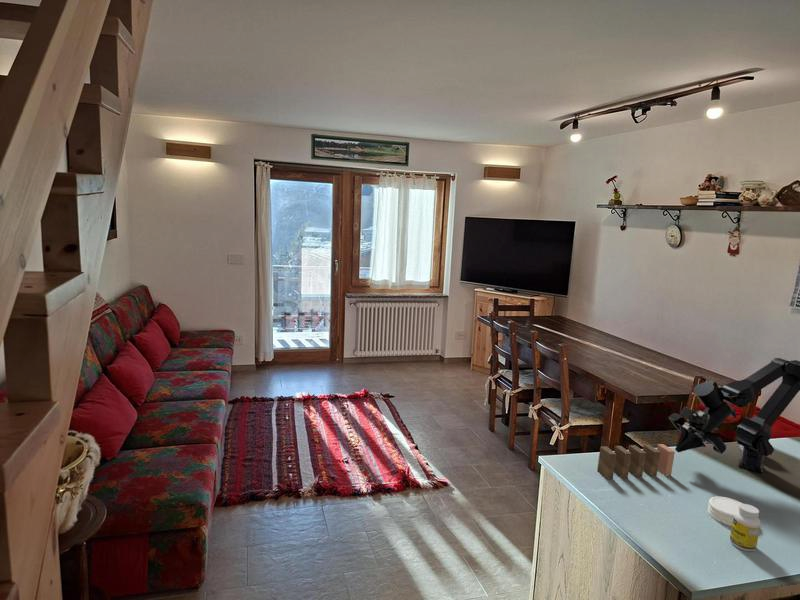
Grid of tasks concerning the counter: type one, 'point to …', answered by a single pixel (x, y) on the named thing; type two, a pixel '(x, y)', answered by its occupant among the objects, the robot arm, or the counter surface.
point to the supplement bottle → (745, 528)
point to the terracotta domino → (665, 459)
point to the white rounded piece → (723, 509)
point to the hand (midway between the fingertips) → (676, 450)
